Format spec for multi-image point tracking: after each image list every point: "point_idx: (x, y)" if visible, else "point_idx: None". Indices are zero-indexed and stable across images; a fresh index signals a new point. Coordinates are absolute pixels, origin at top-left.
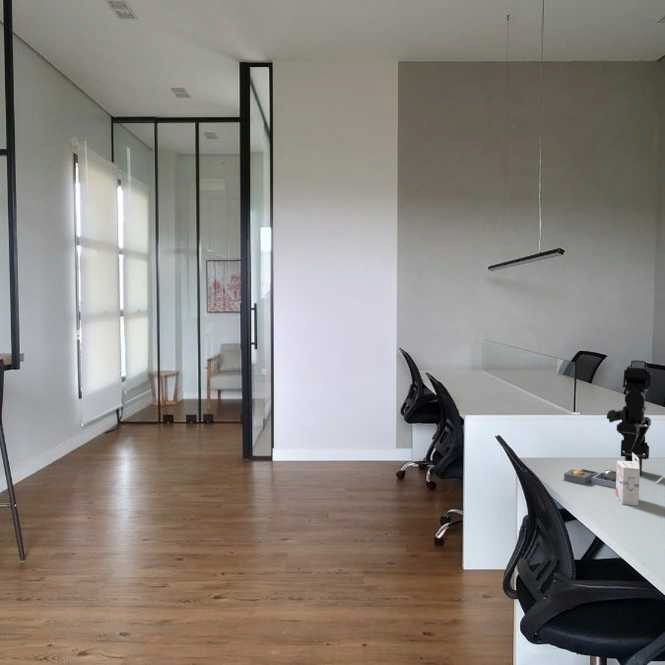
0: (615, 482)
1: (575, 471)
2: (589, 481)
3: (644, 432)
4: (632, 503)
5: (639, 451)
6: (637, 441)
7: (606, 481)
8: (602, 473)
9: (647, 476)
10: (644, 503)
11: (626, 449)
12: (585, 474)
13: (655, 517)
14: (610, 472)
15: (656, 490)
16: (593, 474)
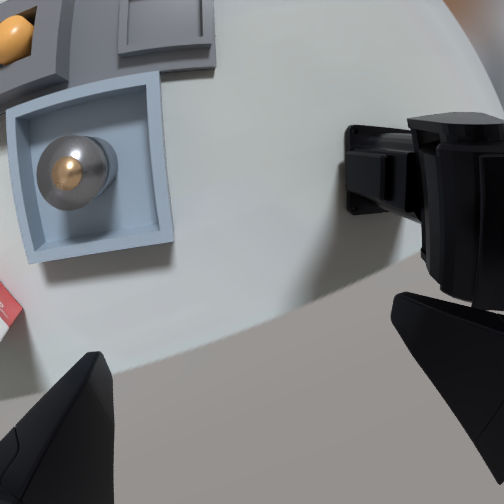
0: (26, 234)
1: (8, 24)
2: (34, 91)
3: (480, 444)
4: None
5: (429, 255)
6: (425, 341)
7: (14, 190)
8: (147, 87)
9: (377, 230)
10: (16, 359)
11: (427, 168)
12: (12, 69)
13: None
14: (48, 184)
15: (195, 337)
16: (140, 47)
